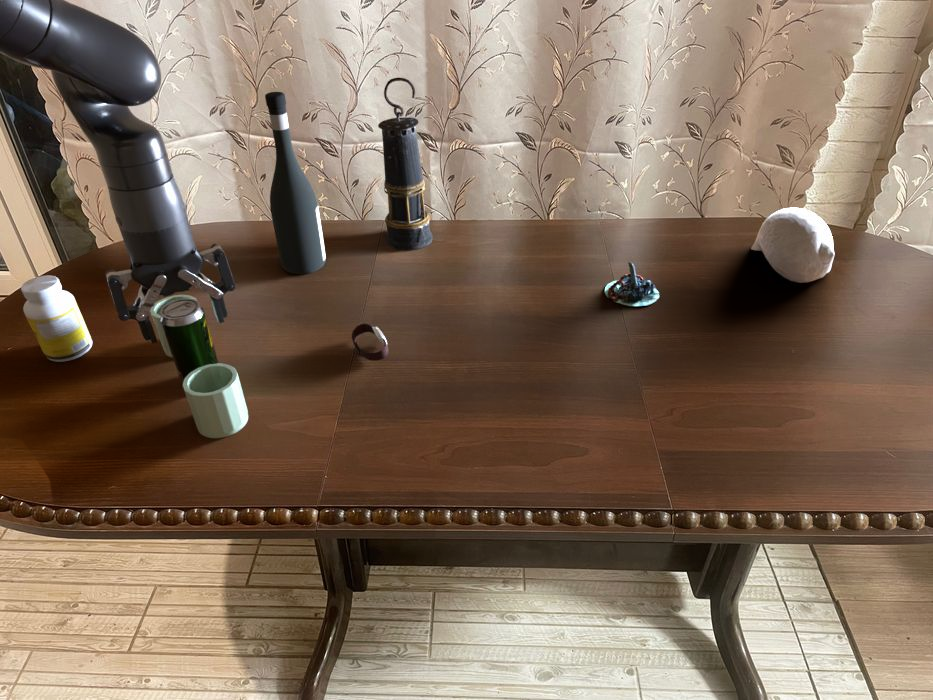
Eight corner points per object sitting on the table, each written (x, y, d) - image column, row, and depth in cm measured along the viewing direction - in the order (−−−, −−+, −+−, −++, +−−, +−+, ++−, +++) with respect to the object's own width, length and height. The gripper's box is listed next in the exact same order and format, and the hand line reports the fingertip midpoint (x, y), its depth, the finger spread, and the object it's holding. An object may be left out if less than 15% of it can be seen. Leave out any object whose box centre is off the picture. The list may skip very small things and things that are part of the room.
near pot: (204, 445, 81) (189, 402, 77) (191, 416, 85) (177, 374, 81) (254, 426, 84) (243, 383, 80) (240, 399, 88) (228, 357, 84)
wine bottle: (310, 251, 123) (282, 84, 105) (335, 265, 118) (311, 93, 101) (273, 266, 118) (237, 94, 100) (298, 281, 114) (265, 103, 96)
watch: (397, 357, 96) (395, 337, 93) (368, 368, 94) (365, 347, 91) (373, 332, 101) (371, 312, 99) (345, 342, 99) (342, 322, 97)
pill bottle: (64, 336, 100) (34, 270, 94) (102, 340, 100) (75, 273, 93) (35, 362, 95) (1, 293, 88) (76, 365, 94) (45, 297, 88)
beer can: (193, 398, 88) (168, 324, 81) (175, 380, 91) (150, 308, 84) (229, 381, 91) (209, 308, 84) (211, 364, 94) (190, 293, 87)
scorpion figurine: (646, 299, 103) (630, 257, 106) (609, 318, 108) (595, 277, 110) (670, 303, 109) (654, 264, 111) (634, 321, 113) (619, 283, 116)
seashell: (753, 312, 118) (815, 275, 104) (715, 245, 120) (771, 201, 107) (810, 288, 123) (876, 251, 110) (773, 225, 126) (833, 181, 113)
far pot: (168, 363, 95) (155, 323, 91) (159, 341, 99) (146, 302, 95) (213, 349, 98) (202, 309, 93) (202, 329, 102) (191, 290, 98)
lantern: (390, 228, 131) (377, 68, 113) (436, 229, 130) (429, 69, 112) (381, 249, 123) (365, 82, 106) (429, 251, 122) (421, 83, 105)
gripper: (205, 192, 82) (233, 302, 92) (81, 218, 76) (125, 333, 86) (221, 213, 77) (249, 327, 87) (90, 243, 71) (135, 361, 81)
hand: (187, 329), depth 86 cm, fingers open, 8 cm apart
